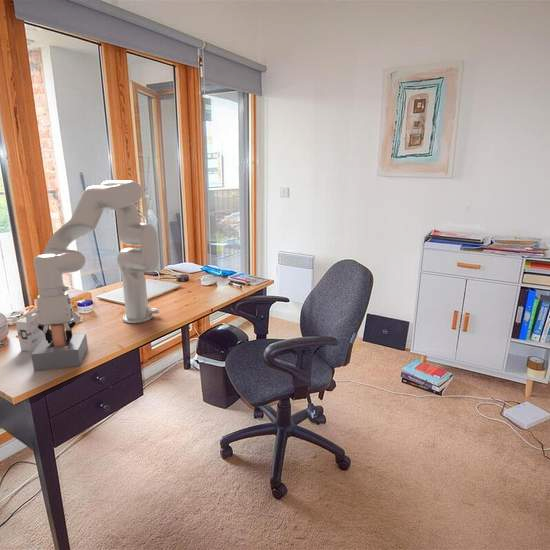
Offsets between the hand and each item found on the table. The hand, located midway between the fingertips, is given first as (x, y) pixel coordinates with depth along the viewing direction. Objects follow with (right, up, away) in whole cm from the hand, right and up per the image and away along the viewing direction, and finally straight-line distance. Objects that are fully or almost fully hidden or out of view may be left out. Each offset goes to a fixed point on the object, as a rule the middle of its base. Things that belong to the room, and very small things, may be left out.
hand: (59, 340), depth 136 cm
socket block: (0, -7, +2) cm, 7 cm away
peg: (0, -7, +2) cm, 7 cm away
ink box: (-15, -4, +11) cm, 20 cm away
